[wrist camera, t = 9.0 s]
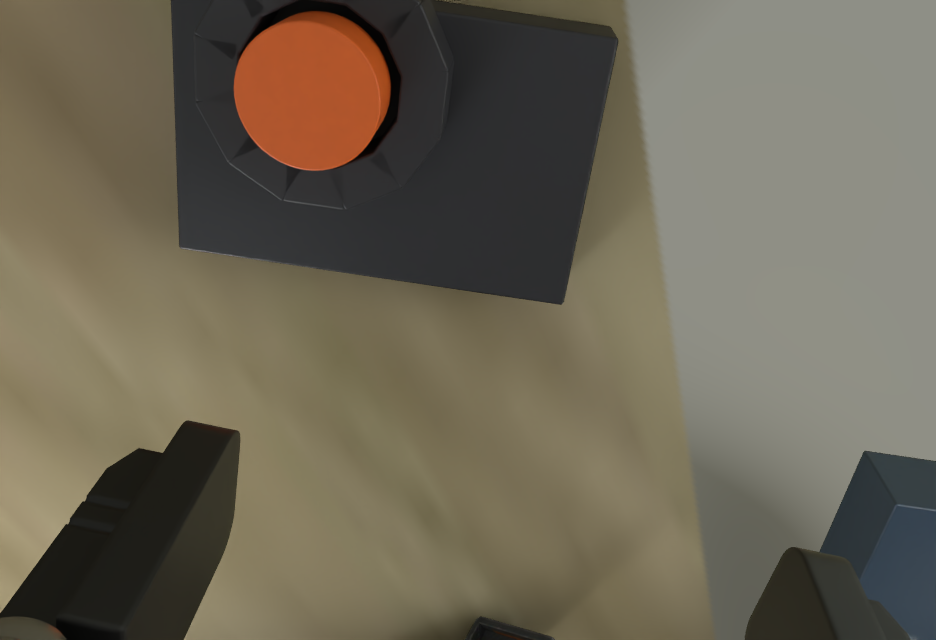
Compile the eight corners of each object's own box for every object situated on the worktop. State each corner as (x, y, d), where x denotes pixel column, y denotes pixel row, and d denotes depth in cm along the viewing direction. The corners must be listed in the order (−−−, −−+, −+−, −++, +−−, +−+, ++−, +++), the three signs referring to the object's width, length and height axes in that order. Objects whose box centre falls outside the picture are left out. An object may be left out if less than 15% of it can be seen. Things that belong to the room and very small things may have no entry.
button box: (560, 276, 27) (565, 334, 24) (203, 223, 27) (155, 273, 24) (621, -21, 23) (638, -5, 20) (197, -84, 23) (137, -79, 20)
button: (385, 160, 22) (374, 181, 21) (253, 141, 22) (233, 160, 21) (397, 21, 21) (387, 32, 19) (254, 0, 21) (232, 9, 19)
